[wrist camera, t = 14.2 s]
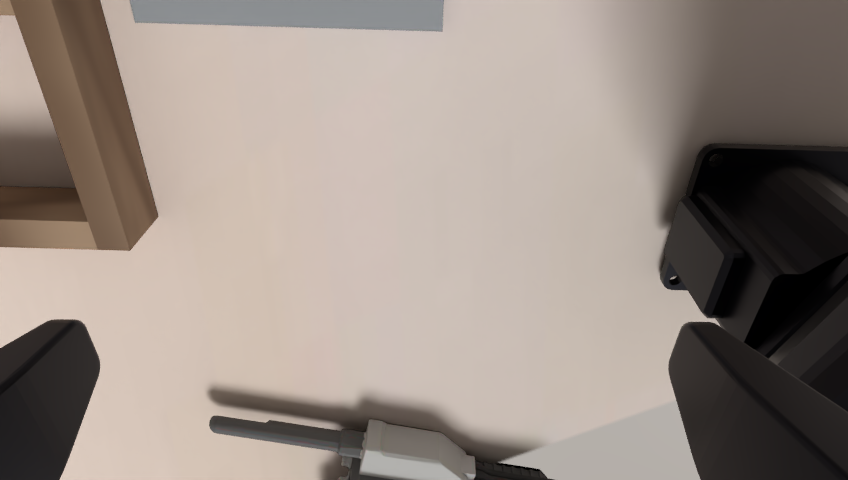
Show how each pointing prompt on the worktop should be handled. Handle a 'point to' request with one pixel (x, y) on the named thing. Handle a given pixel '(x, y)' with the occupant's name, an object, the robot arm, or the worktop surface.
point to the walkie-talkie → (381, 451)
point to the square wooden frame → (79, 137)
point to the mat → (296, 13)
